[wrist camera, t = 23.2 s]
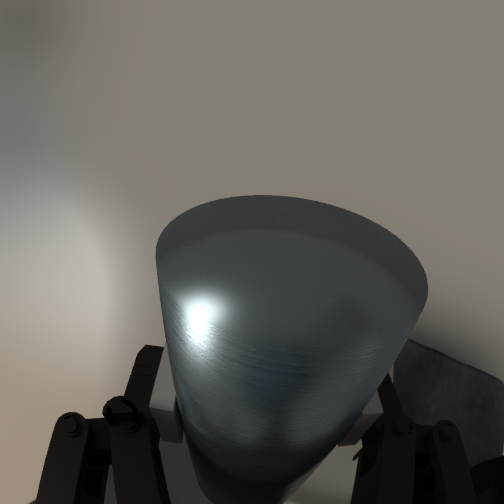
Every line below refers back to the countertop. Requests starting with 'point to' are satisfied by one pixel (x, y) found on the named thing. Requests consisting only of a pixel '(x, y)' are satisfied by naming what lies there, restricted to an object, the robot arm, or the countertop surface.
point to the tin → (278, 334)
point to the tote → (331, 477)
